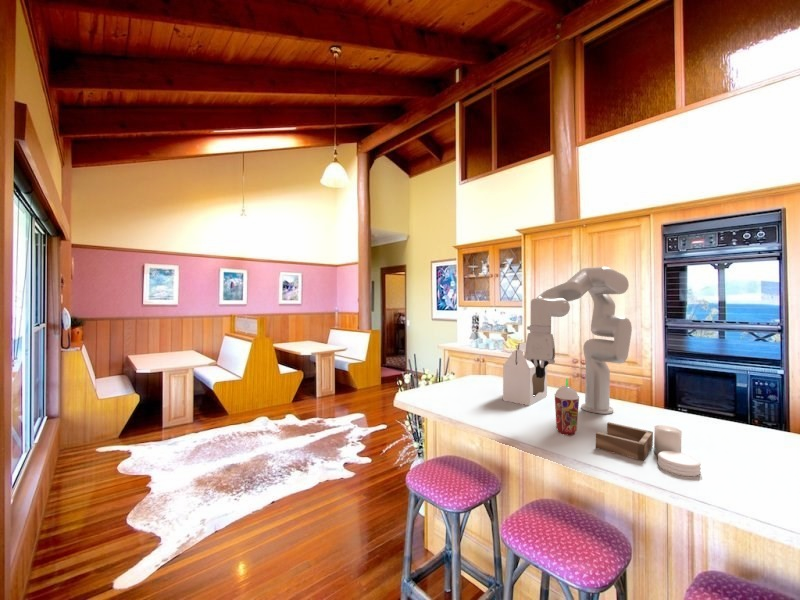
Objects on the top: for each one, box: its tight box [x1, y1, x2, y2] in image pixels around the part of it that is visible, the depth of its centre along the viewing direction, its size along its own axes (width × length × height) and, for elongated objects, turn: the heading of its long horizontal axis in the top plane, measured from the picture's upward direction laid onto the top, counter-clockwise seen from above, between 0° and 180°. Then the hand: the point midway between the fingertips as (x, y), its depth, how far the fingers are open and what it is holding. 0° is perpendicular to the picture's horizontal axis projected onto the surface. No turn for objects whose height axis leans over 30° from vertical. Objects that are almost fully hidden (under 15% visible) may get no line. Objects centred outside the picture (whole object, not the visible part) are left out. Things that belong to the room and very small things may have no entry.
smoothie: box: [554, 378, 580, 436], centre depth 136 cm, size 8×8×20 cm
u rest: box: [595, 421, 654, 462], centre depth 123 cm, size 15×14×5 cm
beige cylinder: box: [653, 424, 683, 455], centre depth 118 cm, size 7×7×8 cm
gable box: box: [502, 341, 548, 406], centre depth 181 cm, size 22×13×28 cm, turn 138°
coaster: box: [657, 451, 701, 477], centre depth 108 cm, size 10×10×4 cm
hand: (540, 377), depth 142 cm, fingers closed
